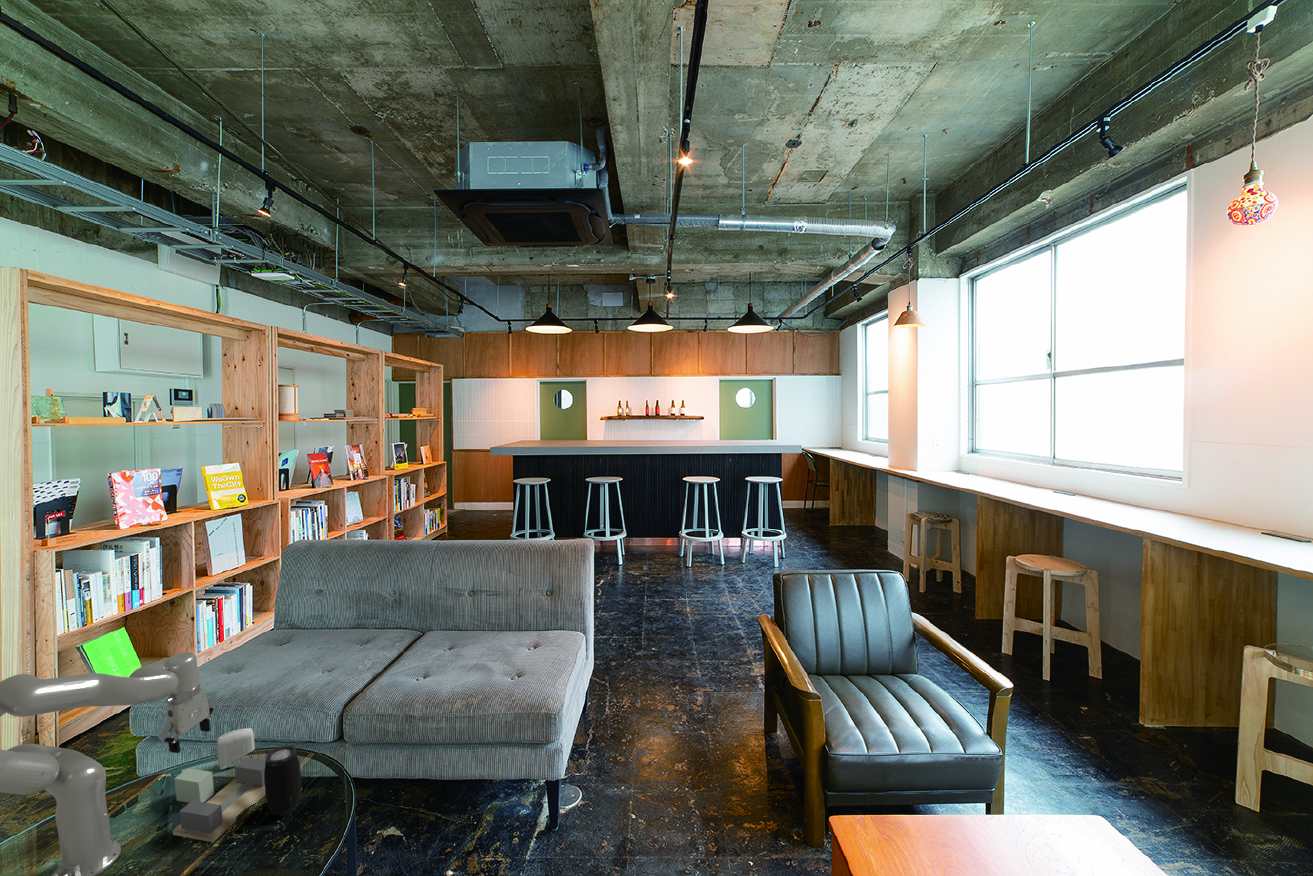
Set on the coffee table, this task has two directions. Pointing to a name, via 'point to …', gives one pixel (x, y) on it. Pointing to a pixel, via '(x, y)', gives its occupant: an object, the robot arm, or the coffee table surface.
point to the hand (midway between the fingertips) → (190, 741)
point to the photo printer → (234, 745)
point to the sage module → (194, 785)
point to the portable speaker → (282, 780)
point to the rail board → (223, 803)
